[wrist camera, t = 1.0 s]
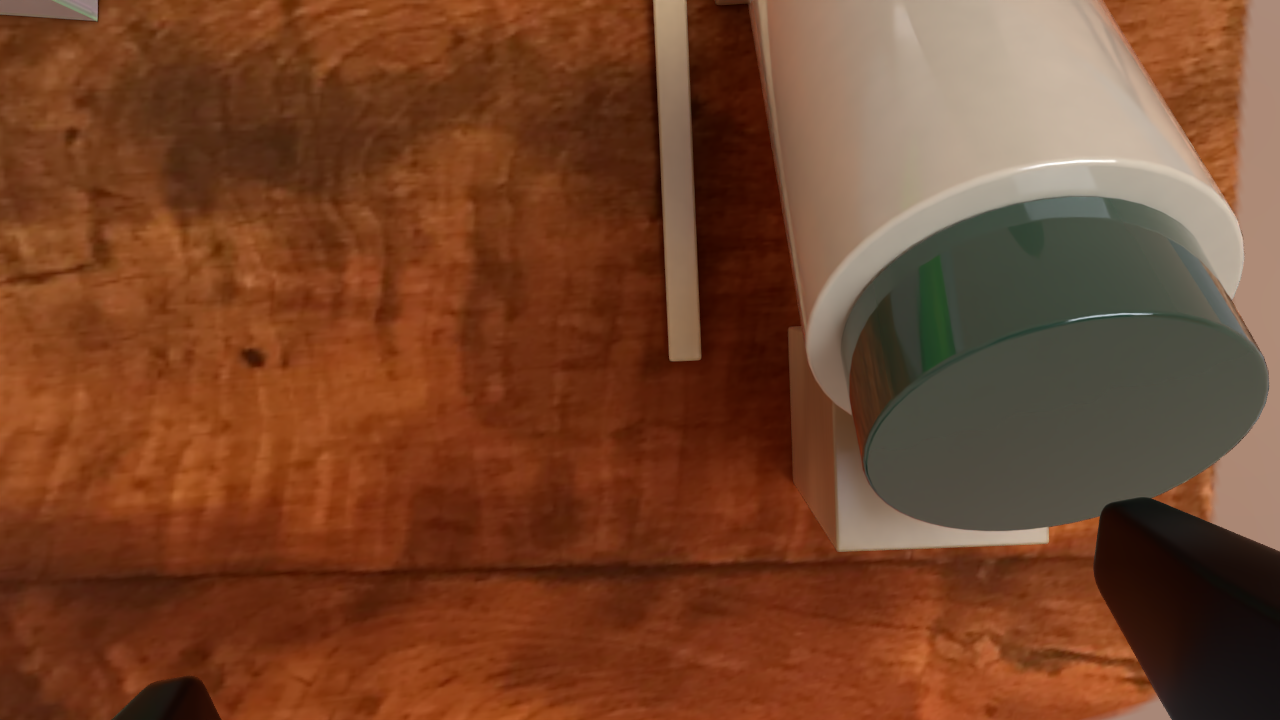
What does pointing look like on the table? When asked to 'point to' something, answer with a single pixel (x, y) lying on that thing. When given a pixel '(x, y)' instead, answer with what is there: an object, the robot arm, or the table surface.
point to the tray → (52, 9)
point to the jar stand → (817, 423)
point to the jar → (1003, 256)
